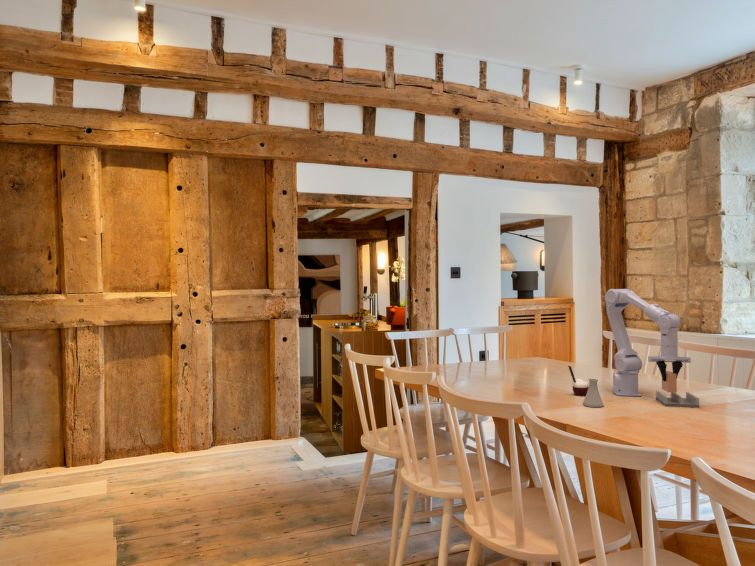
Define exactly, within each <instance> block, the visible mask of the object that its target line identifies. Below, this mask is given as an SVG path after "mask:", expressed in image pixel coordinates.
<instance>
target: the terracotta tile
mask: <svg viewBox="0 0 755 566" xmlns="http://www.w3.org/2000/svg"><path fill="white" fill-rule="evenodd" d="M677 378H678V376H677V374H675V373H673V371H668V370H666V381H663V380H662V379H661V389H662V391H665V392H667V393H671V392H674V393H677V394H678V391H677V390H678V388H677V385H678V384H677V383H678V382H677V381H678V380H677Z"/></svg>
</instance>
